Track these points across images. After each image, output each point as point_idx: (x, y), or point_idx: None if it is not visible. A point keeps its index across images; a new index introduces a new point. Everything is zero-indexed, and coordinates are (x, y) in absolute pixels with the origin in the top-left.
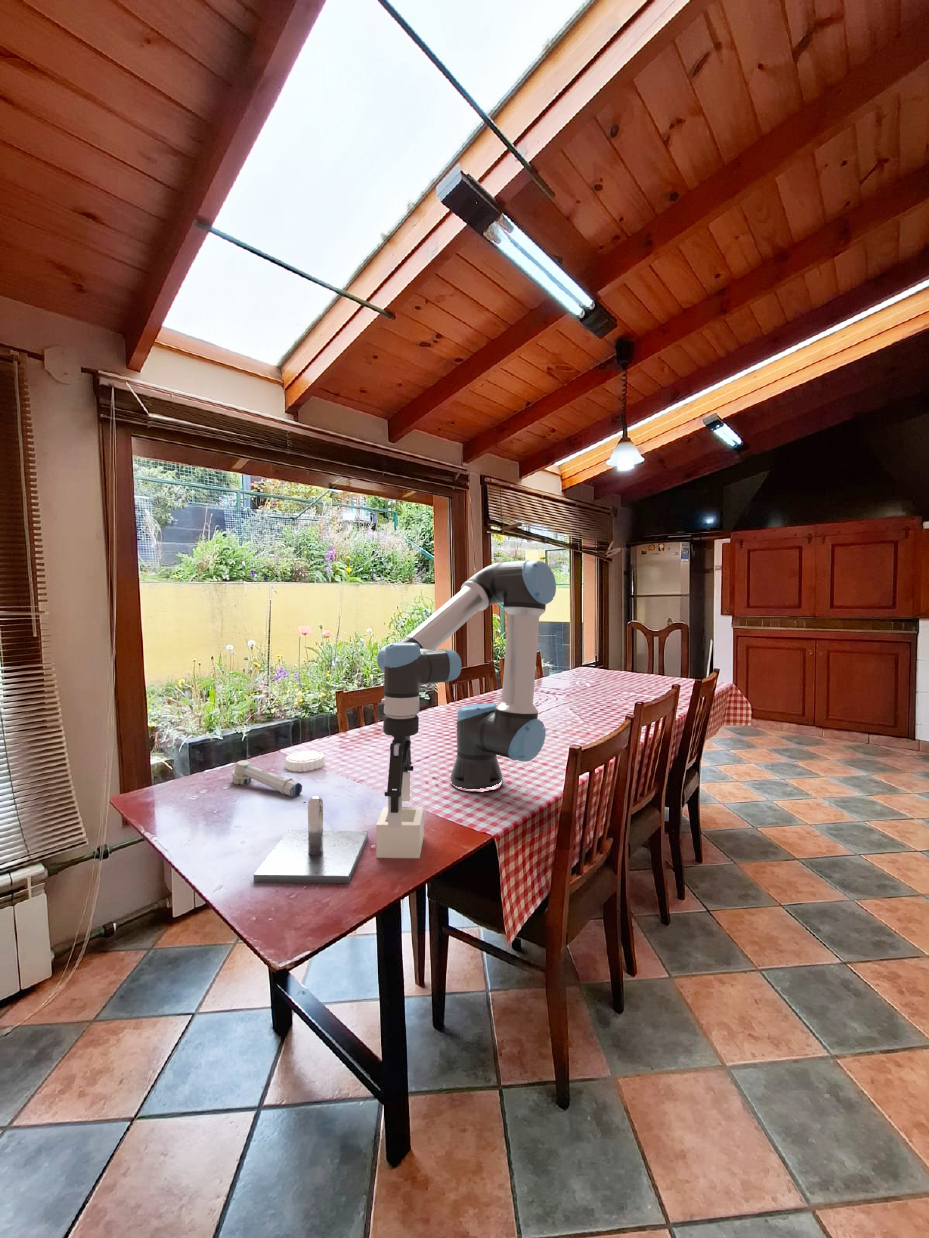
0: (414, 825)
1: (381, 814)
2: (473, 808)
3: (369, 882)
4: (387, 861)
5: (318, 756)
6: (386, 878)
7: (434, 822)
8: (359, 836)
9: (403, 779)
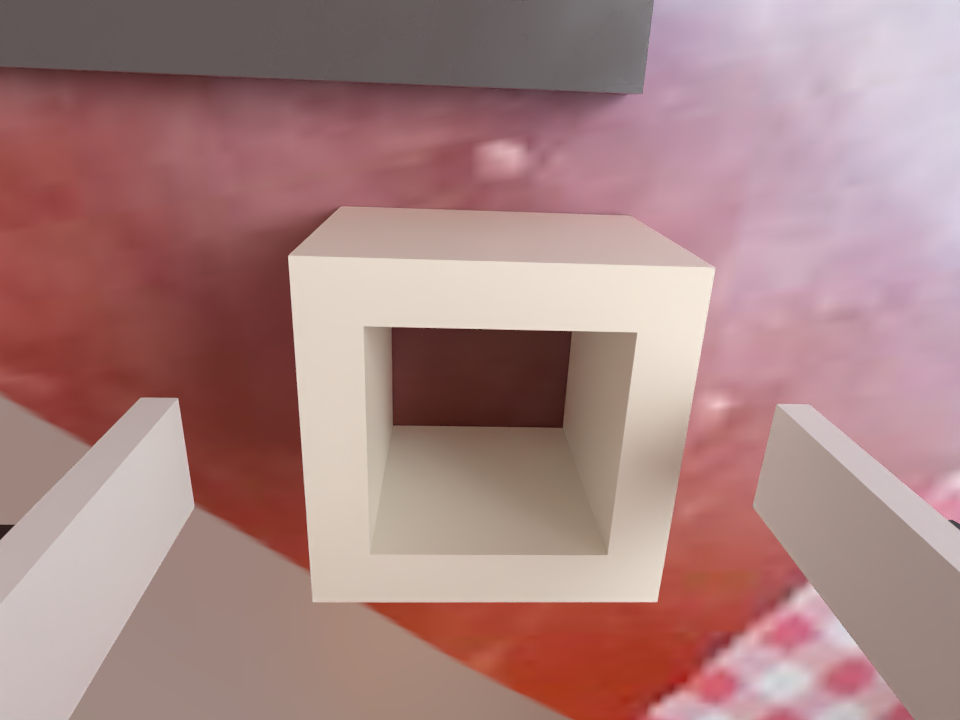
0: (311, 565)
1: (522, 271)
2: None
3: (40, 208)
4: None
5: None
6: (106, 305)
7: None
8: (558, 33)
9: (907, 616)
